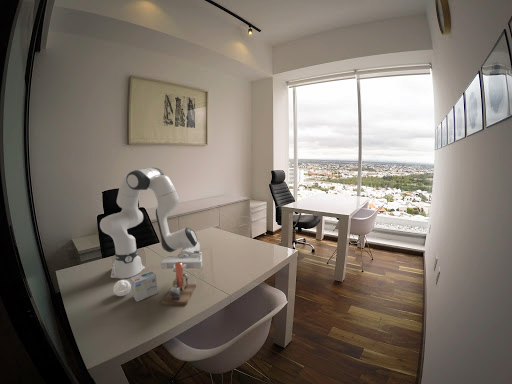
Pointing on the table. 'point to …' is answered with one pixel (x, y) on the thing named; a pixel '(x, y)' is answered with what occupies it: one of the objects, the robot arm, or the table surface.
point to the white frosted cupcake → (121, 287)
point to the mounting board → (184, 296)
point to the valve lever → (179, 274)
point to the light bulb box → (144, 285)
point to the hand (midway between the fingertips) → (177, 270)
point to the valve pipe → (175, 290)
